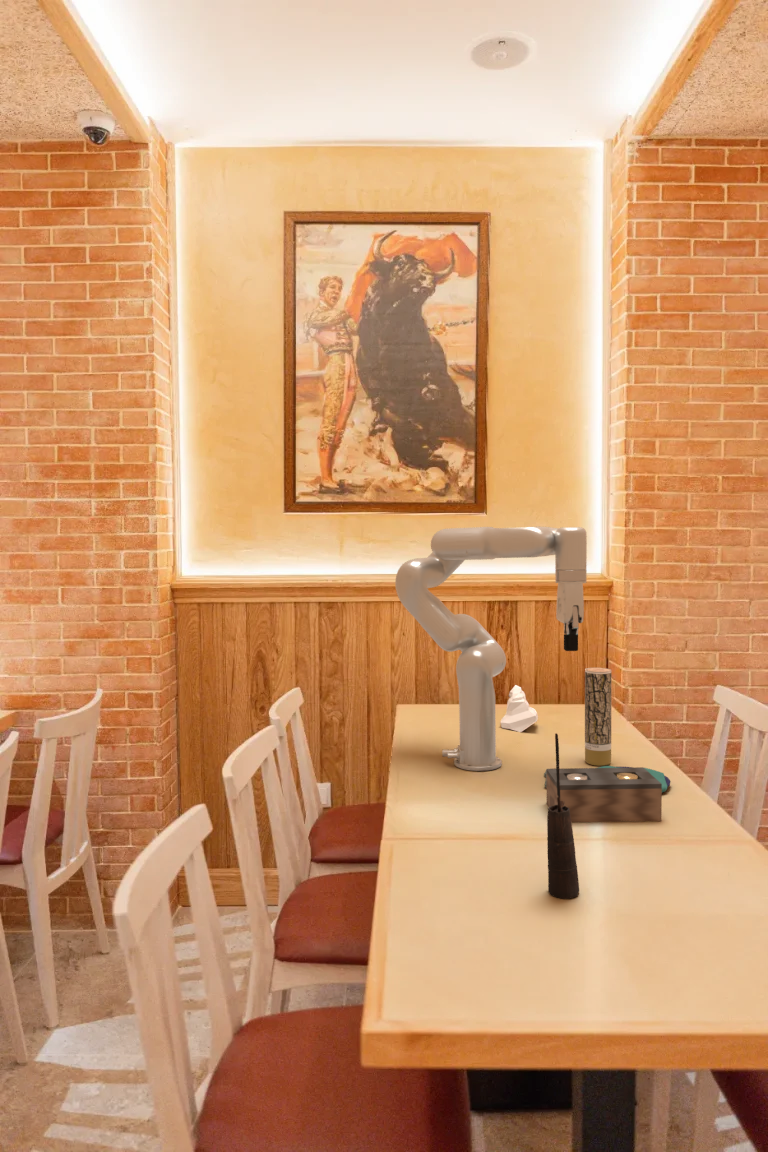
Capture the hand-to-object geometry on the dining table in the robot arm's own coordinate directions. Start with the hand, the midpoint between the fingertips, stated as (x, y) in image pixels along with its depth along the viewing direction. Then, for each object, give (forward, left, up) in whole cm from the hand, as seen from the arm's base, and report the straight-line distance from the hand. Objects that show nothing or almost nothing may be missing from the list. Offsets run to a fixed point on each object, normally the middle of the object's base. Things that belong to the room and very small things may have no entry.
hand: (570, 650), depth 200 cm
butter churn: (-16, -63, -32) cm, 73 cm away
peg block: (+1, -25, -32) cm, 41 cm away
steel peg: (-4, -25, -32) cm, 41 cm away
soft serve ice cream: (-4, +52, -32) cm, 61 cm away
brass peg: (+7, -25, -32) cm, 41 cm away
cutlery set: (+8, -5, -33) cm, 34 cm away
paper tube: (+10, +12, -32) cm, 36 cm away
